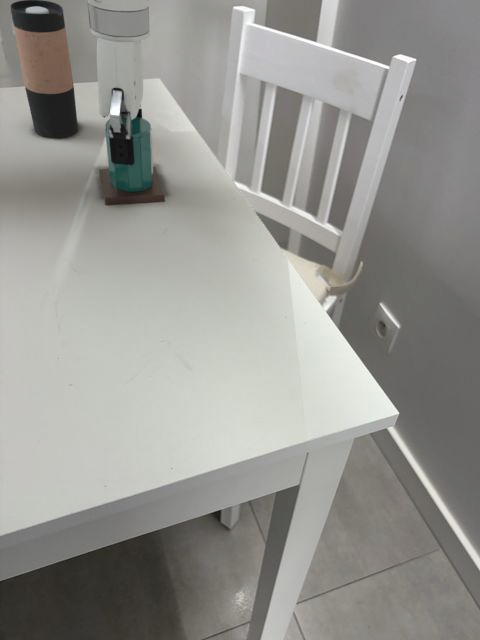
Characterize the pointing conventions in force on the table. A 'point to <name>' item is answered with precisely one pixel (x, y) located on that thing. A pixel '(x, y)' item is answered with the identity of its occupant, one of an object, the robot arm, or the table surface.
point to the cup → (142, 169)
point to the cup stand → (126, 197)
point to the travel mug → (46, 67)
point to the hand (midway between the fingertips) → (127, 148)
